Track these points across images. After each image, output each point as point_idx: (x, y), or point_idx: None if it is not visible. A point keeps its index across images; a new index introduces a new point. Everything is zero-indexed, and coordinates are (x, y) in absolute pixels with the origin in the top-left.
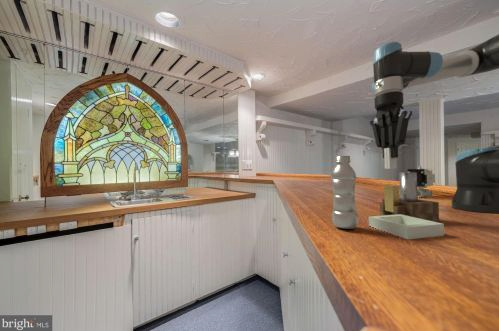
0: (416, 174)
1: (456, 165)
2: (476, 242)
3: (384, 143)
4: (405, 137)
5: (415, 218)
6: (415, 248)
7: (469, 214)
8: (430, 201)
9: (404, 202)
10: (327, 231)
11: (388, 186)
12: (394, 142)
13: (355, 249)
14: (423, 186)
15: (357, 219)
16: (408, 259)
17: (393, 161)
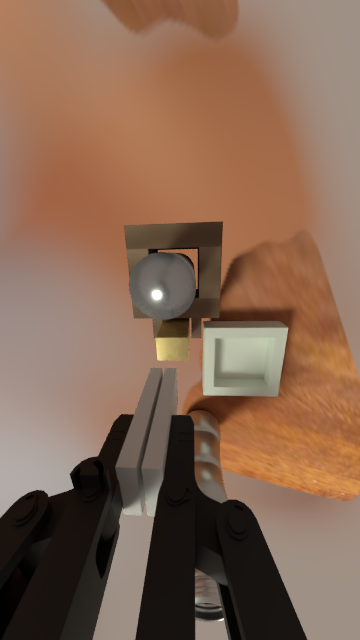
0: (191, 269)
1: None
2: (317, 310)
3: (107, 572)
4: (296, 614)
5: (242, 334)
6: (295, 402)
7: None
8: (205, 229)
9: (197, 315)
10: None
11: (173, 359)
12: (201, 566)
13: (270, 453)
14: None
15: (217, 425)
16: (310, 431)
17: (173, 406)
